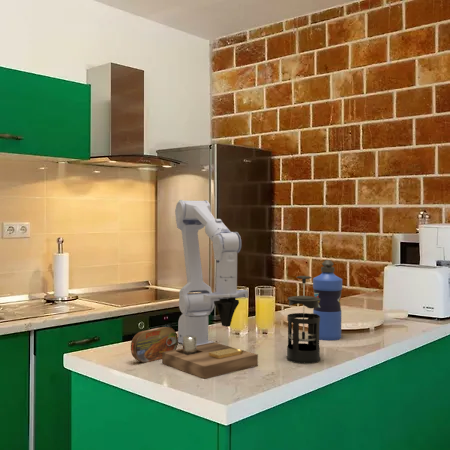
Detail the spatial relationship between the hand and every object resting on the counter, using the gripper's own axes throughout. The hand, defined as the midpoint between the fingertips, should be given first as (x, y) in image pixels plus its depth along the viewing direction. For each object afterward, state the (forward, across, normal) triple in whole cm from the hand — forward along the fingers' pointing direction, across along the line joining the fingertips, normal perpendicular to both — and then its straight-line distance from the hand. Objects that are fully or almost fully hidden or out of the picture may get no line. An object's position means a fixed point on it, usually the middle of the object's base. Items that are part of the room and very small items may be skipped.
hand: (226, 325), depth 156 cm
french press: (+9, +17, -13) cm, 24 cm away
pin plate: (+9, -7, -2) cm, 12 cm away
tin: (+10, -15, +13) cm, 22 cm away
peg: (+9, -10, +3) cm, 14 cm away
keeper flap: (+6, -5, -5) cm, 9 cm away
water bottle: (+10, +43, 0) cm, 44 cm away
